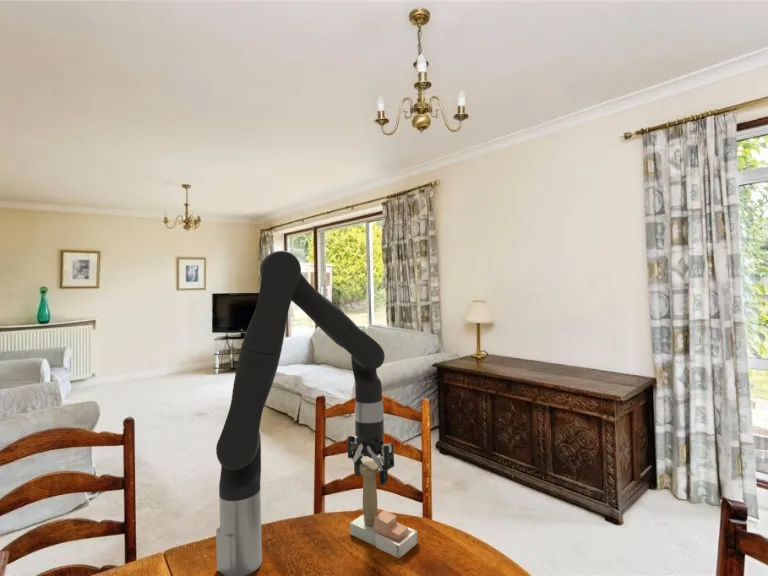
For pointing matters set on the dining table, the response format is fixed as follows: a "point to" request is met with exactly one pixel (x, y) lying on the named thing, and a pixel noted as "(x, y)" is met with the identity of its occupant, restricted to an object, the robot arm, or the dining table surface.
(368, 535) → the pale green flat block
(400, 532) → the salmon cube
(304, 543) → the dining table surface
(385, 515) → the pink cube
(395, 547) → the tray
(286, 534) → the dining table surface
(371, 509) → the handle
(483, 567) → the dining table surface
